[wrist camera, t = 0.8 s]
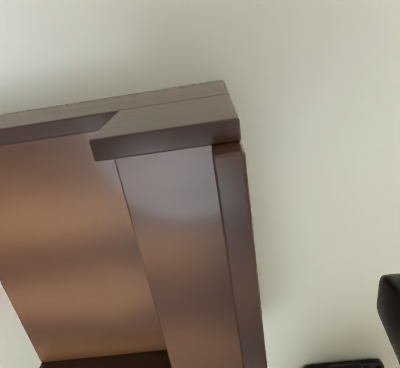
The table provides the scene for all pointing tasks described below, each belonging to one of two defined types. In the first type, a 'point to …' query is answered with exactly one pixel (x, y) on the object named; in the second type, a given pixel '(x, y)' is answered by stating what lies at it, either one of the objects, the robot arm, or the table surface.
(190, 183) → the shelf
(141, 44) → the table surface
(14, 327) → the table surface
